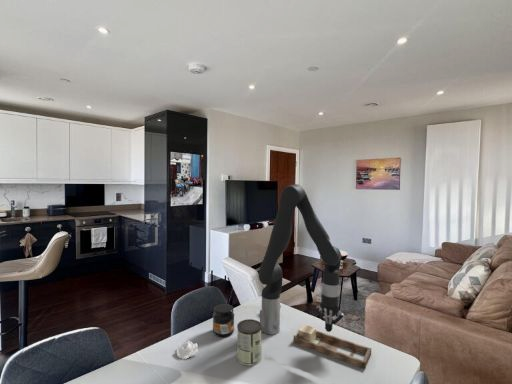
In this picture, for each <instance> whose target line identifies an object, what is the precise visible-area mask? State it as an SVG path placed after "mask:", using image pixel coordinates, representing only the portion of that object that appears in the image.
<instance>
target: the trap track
mask: <svg viewBox="0 0 512 384" xmlns="http://www.w3.org/2000/svg"><path fill="white" fill-rule="evenodd" d="M292 338H293V344H296V345H299V346H302V347H303V348H307V349H309V350H312V351H315V352H318V353H320V354H323V355H326V356H329V357H331V358H334V359H336V360H338V361H342V362H344V363H348V364H350V365H353V366H355V367H358V368H361V369H363V370H366V368H367V365H368V363H369V360H370V358H371V356H372V348H371V347H367V346H364V345H361V344H358V343H355V342H353V341H349V340H347V339H343V338H340V337H337V336H334V335H331V334H328V333H324V332H321V331H319V330H316V339H315V341H314V342H313V343H312V342H310V341H307V340H304V339H301V338H299V329H297V331H296V332H295V333H294V334H293V337H292ZM340 346H341V347H344V348H347V349H350V350H351V351H350V353H349V355H348V354H346V353H343V352H340V351H338V349H339V348H340ZM356 352H359V353H362V354H363V355H364V357H363V359H360V358H358V357H357V358H356V357H355V356H354V355H355V354H356Z"/></svg>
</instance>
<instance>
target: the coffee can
mask: <svg viewBox="0 0 512 384" xmlns="http://www.w3.org/2000/svg"><path fill="white" fill-rule="evenodd" d="M236 326H237V327H236V328H237V361H238V362H239V364H241V365H243V366H250V367H251V366H255V365H258V364H259V363H260V362H261V360H262V330H261V328H262V324H261V323H260V320H256V319H251V318H250V319H243V320H241V321H239V322H238V323H237V324H236Z"/></svg>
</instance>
